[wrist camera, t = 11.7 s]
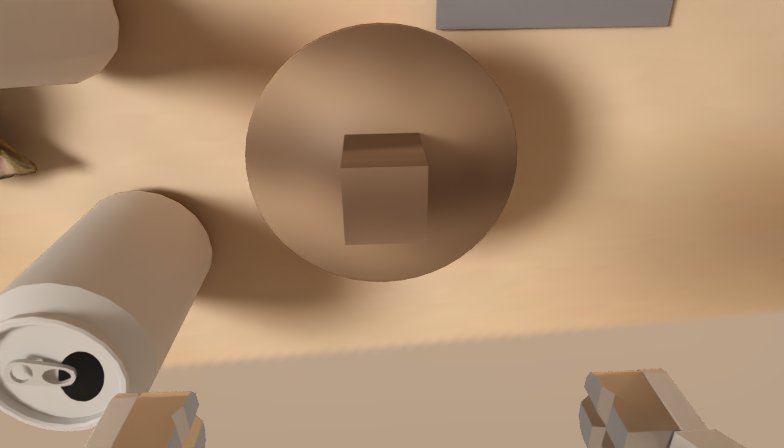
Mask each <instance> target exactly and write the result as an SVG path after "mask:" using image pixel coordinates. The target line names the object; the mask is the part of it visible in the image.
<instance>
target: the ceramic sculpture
mask: <svg viewBox="0 0 784 448" xmlns="http://www.w3.org/2000/svg"><path fill="white" fill-rule="evenodd" d="M36 171H37V168H36V166H35V164H34V163H32V162H31V161H30V160H28V159H27V158H25V157H24V156H23V155H21V154H20V153H18V152H17V151H16V150H15V149H13V148H12V147H11V146H10V145H8V144H7V143H5V142H4V141H3V140H1V139H0V179H5V178H9V177H12V176H14V175H25V174H31V173H35V172H36Z"/></svg>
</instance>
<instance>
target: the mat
mask: <svg viewBox="0 0 784 448" xmlns="http://www.w3.org/2000/svg"><path fill="white" fill-rule="evenodd" d="M672 4H673V0H437V15H436V29H437V30H445V29H506V28H566V27H627V26H668V23H669V18H670V14H671V9H672Z"/></svg>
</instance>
